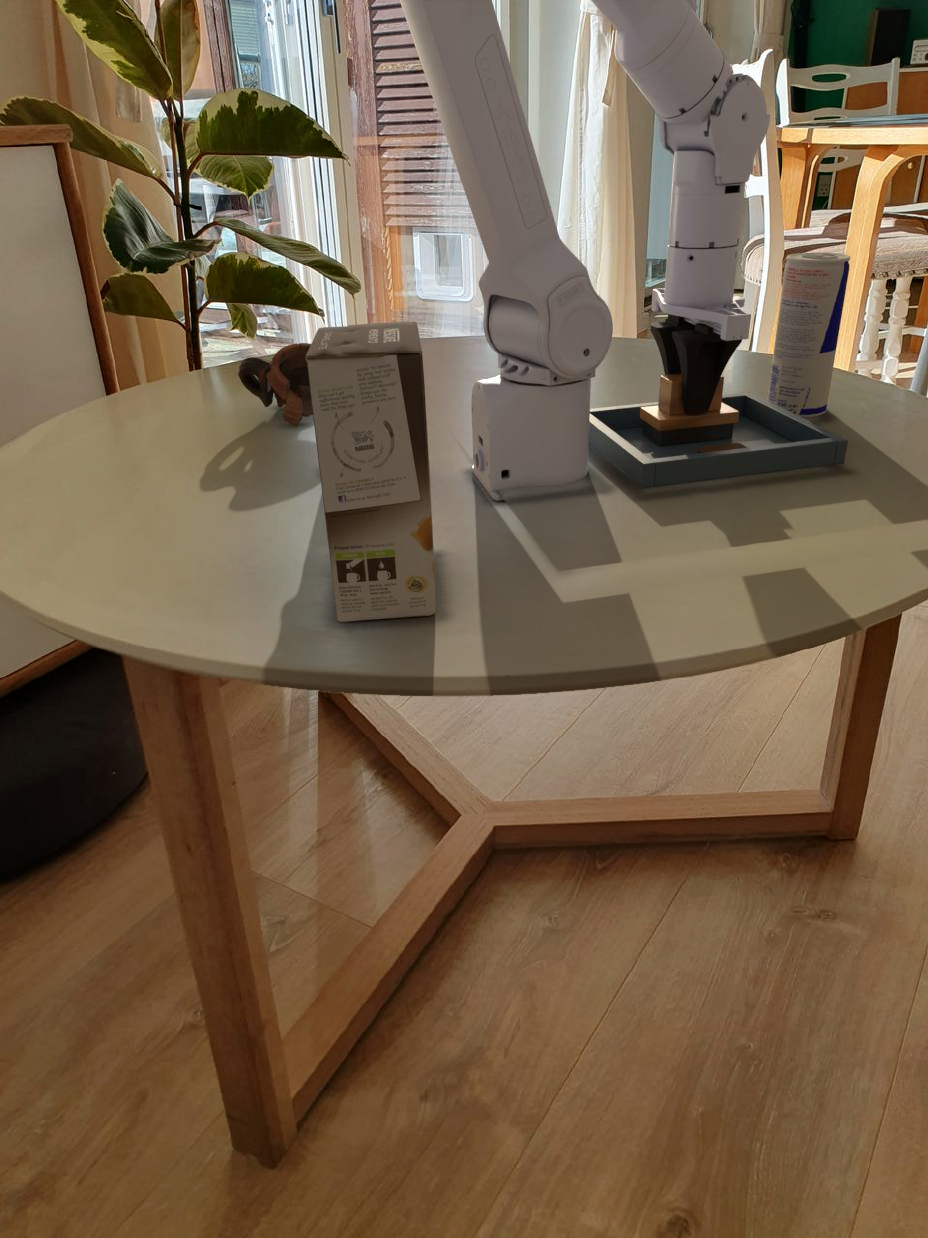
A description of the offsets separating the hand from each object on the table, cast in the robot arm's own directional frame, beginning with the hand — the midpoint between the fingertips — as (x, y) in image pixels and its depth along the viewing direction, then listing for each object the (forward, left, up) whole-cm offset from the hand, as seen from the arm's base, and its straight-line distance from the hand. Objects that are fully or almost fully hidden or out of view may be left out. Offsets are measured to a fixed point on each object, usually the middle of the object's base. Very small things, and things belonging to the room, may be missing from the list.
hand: (688, 407), depth 79 cm
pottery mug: (-34, +24, -4) cm, 42 cm away
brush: (0, 0, -3) cm, 3 cm away
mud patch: (0, -8, -3) cm, 8 cm away
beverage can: (+14, +5, -4) cm, 15 cm away
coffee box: (-31, -20, -4) cm, 37 cm away
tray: (0, -3, -3) cm, 5 cm away
